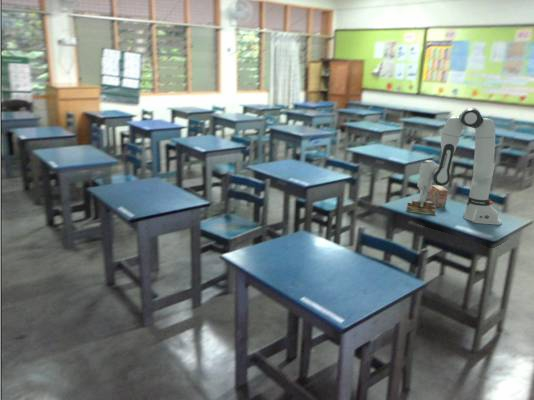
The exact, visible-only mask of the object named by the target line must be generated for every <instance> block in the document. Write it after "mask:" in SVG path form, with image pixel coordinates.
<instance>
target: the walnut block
mask: <svg viewBox="0 0 534 400" xmlns="http://www.w3.org/2000/svg"><path fill="white" fill-rule="evenodd" d="M411 203H412V207H417V208H425V209H431V206H433V204H432V202H431V201H428V200H426V201H425V202H424V204H423V207H420V204H421V202H420V199H412V202H411Z"/></svg>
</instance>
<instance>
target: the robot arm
mask: <svg viewBox="0 0 534 400" xmlns="http://www.w3.org/2000/svg"><path fill="white" fill-rule="evenodd" d="M494 121H495V120H493V119H491V118H488V117H483V116H482V114H481V112H480V110H479V109H477V108H476V107H467V108H465V109H464V110H463V111H462V112H461V113H460V114H459V116H450V117H448V118H447V120H446V121H445V124H444V126H443V128H442V133H441V136H440V148H441V158H440V162H439V163H437V162H435V160H431V159H429V160H428V159H426V160H423V161H422V162H421V163H420V167H419V172H418V174H419V175H418V180H417V185H416V186H417V187H418V190H419V191H420V193H419V200H420V202H421V204H420V207H423V204H424V202H425V201H427V199H426V195H427V191H428V190H429V189H430V188H431V187H432V185H433V183H434V184H435V185H439V186H442V187H444V186H446V185H448V184H449V183H450V181H451V173H450V169H451V165H452V161H453V156H454V154H455V152H456V149H457V147H458V145H459V142H460V140H461V136H462V132H463V129H464V128H465V127H467V128H473V129H474V131H475V134H474V135H475V136H474V139H475V140H474V155H473V170H472V171H473V175H472V180H471V182H470V183H471V184H470V190H469V195H468V196H467V199H466V207H465V211H464V212H463V215H462V218H463V219H465V220H467V221H470V222H472V223H475V224H483V225H484V224H485V225H493V226H494V225H496V226H499V225H501V224H502V220H501V219H500V218H499V212H498V211H497V209H495V208H494V207H493V203H494V202H493V201H492V200H491V199H490V198H489V196H490V192H491V186H492V182H493V176H494V171H495V166H496V165H495V151H496V150H495V149H496V148H495V147H496V125H495V122H494Z"/></svg>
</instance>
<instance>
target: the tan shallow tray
mask: <svg viewBox="0 0 534 400" xmlns="http://www.w3.org/2000/svg"><path fill="white" fill-rule="evenodd" d="M436 207H437V206H435V205H432V206H431V209H425V208H417V207H412V202H407V206H406V212H412V213H419V214H427V215H433V216H435V215H436Z"/></svg>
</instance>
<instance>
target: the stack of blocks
mask: <svg viewBox="0 0 534 400" xmlns="http://www.w3.org/2000/svg"><path fill="white" fill-rule="evenodd" d="M448 192H449V190H448V189H447V188H445V187H444V186H439V185H437V184H435V185H434V184H432V187H431V188H430V189H429V190H428V191H427V195H426V201H431V202H432V205H433V206H436V207H437V208H438V207H439V208H441V207H443V208H445V207H446V204H447V198H448V194H449V193H448Z"/></svg>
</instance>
